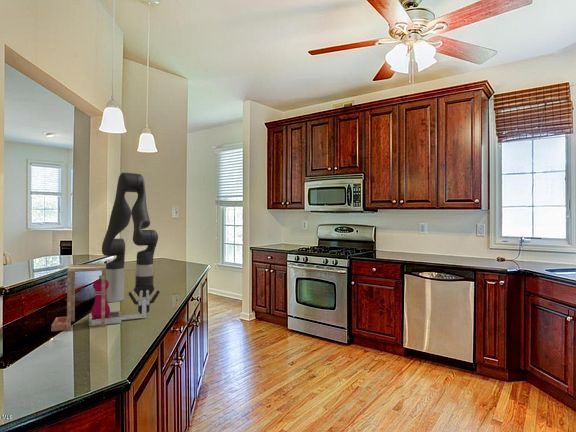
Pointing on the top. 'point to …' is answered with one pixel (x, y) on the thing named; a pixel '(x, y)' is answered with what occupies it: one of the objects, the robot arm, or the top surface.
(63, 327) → the pit tray
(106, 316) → the pepper mill
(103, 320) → the shelf tunnel
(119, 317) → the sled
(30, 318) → the top surface
